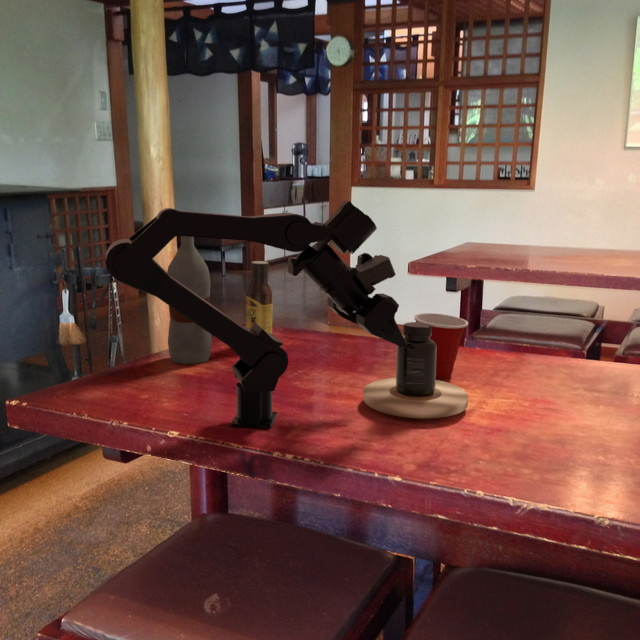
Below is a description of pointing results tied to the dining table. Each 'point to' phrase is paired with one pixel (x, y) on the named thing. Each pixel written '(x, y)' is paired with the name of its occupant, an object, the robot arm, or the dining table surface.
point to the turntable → (416, 400)
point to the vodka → (184, 335)
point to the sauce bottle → (259, 298)
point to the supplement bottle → (416, 361)
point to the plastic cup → (444, 339)
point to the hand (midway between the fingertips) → (391, 337)
